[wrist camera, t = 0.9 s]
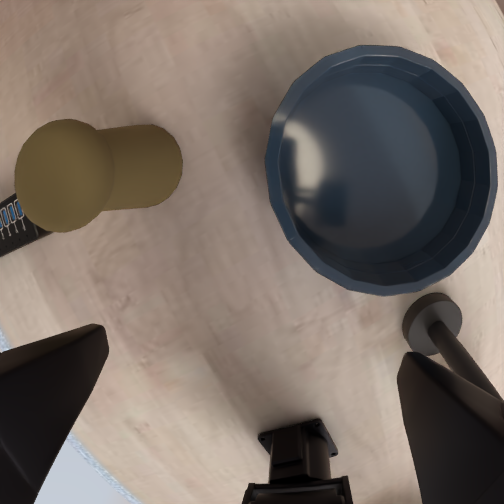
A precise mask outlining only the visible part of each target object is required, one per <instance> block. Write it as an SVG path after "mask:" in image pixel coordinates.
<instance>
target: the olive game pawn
mask: <svg viewBox="0 0 504 504" xmlns="http://www.w3.org/2000/svg"><path fill="white" fill-rule="evenodd" d="M182 164H183V160H182V156H181V151H180V148H179V146H178V144H177V142H176V141H175V139H174V137H173V136H172V135H170V134H169V133H168V132H167V131H166V130H165V129H163V128H160V127H158V126H155V125H133V126H125V127H117V128H109V129H102V130H96V129H95V128H94V127H92V126H91V125H89V124H87V123H84V122H81V121H78V120H73V119H63V120H55V121H52V122H49V123H47V124H45V125H44V126H42V127H40V128H38V129H37V130H36V131H35V132H34V133H33V134H32V135H31V136H30V137H29V138H28V140H27V141H26V142H25V143H24V144H23V146H22V149H21V151H20V153H19V155H18V158H17V162H16V167H15V190H16V195H17V200H18V202H19V204H20V206H21V209H22V211H23V212H24V214H25V215H26V216H27V217H28V218H29V220H30V221H31V222H33V223H34V224H36V225H38V226H39V227H41V228H43V229H44V230H46V231H51V232H59V233H61V232H69V231H73V230H76V229H79V228H81V227H83V226H86V225H87V224H88V223H89V222H91V221H92V220H93V219H94V218H95V217H97V216H98V215H99V214H100V213H101V212H102V211H110V210H121V209H133V208H146V207H150V206H154V205H158V204H160V203H161V202H163V201H164V200H166V199H167V198H169V196H170V195H171V194H172V193H173V191H174V190H175V189H176V188H177V185H178V183H179V180H180V178H181V175H182Z"/></svg>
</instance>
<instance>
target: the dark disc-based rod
mask: <svg viewBox="0 0 504 504" xmlns="http://www.w3.org/2000/svg"><path fill="white" fill-rule="evenodd" d="M461 325H462V314H461V311H460V309H459V307H458V306H457V305H456V304H455V303H454V302H453V301H452V300H451V299H450V298H449V297H448V296H447V295H445V294H442V293H431V294H428V295H425V296H423V297H421V298H420V299H418V300H417V301H416V302H415V303H414V304H413V305H412V306H411V307H410V308H409V310H408V311H407V313H406V315H405V318H404V321H403V335H404V337H405V339H406V341H407V343H408V344H409V346H410V348H411V349H412V350H413V351H414V352H420V353H422V354H423V355H425V356H430V355H434V354H437V353H441V355H442V356H443V358H444V359H445V361H446V362H447V364H448V365H449V367H450V368H451V370H452V371H453V372H454V373H455V374H457V375H459V376H460V377H462V378H464V379H465V380H467V381H469V382H470V383H472V384H474V385H475V386H477V387H479V388H481V389H482V390H484V391H486V392H487V393H489V394H491V395H492V396H494V397H496V398H497V399H499V400H500V402H501V401H503V402H504V400H503V399H502V398H501V396H500V395H499V393H498V392H497V391H496V389H495V388H494V386H493V385H492V384H491V382H490V381H489V379H488V378H487V377H486V375H485V374H484V373H483V371H482V370H481V369H480V367H479V366H478V365H477V363H476V362H475V361H474V360H473V358H472V357H471V356H470V354H469V353H468V352H467V351H466V349H465V348H464V347H463V346H462V344H461V343H460V342H459V341H458V339H457V338H456V337H457V335H458V334H459V331H460V329H461Z"/></svg>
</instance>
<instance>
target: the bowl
mask: <svg viewBox="0 0 504 504" xmlns="http://www.w3.org/2000/svg"><path fill="white" fill-rule="evenodd" d="M265 168H266V176H267V183H268V191H269V199H270V203H271V206H272V208H273V211H274V213H275V215H276V217H277V219H278V221H279V223H280V226H281V228H282V230H283V232H284V234H285V236H286V238H287V240H288V241H289V243H290V244H291V245H292V247H293V248H294V249H295V250H296V251H297V252H298V253H299V254H300V255H301V256H302V257H303V259H304V260H305V261H306V262H307V263H308V264H309V265H310V266H311V267H312V268H313V269H314V270H315V271H316V272H317V273H319V274H321V275H322V276H324V277H326V278H328V279H330V280H331V281H333V282H335V283H337V284H338V285H340V286H342V287H344V288H346V289H347V290H351V291H356V292H362V293H367V294H372V295H378V296H384V297H386V296H393V295H400V294H407V293H414V292H418V291H420V290H422V289H424V288H426V287H428V286H430V285H433V284H435V283H436V282H438V281H440V280H442V279H444V278H446V277H448V276H450V275H451V274H452V273H453V272H454V271H455V270H456V269H457V268H458V267H459V266H460V265H461V264H462V263H463V262H464V261H465V260H466V259H467V258H468V257H469V256H470V255H471V254H472V253H473V252H474V250H475V248H476V247H477V245H478V243H479V241H480V240H481V238H482V236H483V234H484V232H485V230H486V229H487V227H488V225H489V223H490V219H491V215H492V211H493V207H494V203H495V198H496V193H497V187H498V176H497V157H496V149H495V146H494V142H493V139H492V136H491V133H490V130H489V127H488V124H487V121H486V119H485V116H484V114H483V113H482V111H481V110H480V108H479V106H478V105H477V103H476V102H475V101H474V99H473V98H472V96H471V95H470V93H469V92H468V90H467V89H466V88H465V86H464V85H463V84H462V83H461V82H460V81H459V80H458V79H457V78H455V77H454V76H453V75H452V74H451V73H449V72H448V71H447V70H446V69H445V68H443V67H442V66H441V65H439V64H438V63H437V62H436V61H434V60H432V59H430V58H428V57H425V56H423V55H420V54H418V53H415V52H413V51H410V50H407V49H405V48H402V47H397V46H380V45H359V46H355V47H352V48H349V49H346V50H343V51H340V52H337V53H334V54H331V55H328V56H325V57H323V58H322V59H321V60H319V61H318V62H317V63H316V64H314V65H313V66H312V67H311V68H310V69H308V70H307V71H306V72H305V73H303V74H302V75H301V76H300V77H299V78H297V79H296V80H295V81H294V82H293V83H292V85H291V87H290V89H289V90H288V92H287V94H286V95H285V97H284V99H283V101H282V102H281V104H280V106H279V107H278V109H277V111H276V113H275V114H274V116H273V119H272V123H271V128H270V134H269V139H268V144H267V149H266V155H265Z"/></svg>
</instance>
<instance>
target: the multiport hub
mask: <svg viewBox="0 0 504 504" xmlns="http://www.w3.org/2000/svg"><path fill="white" fill-rule="evenodd" d="M51 233H53V232H51V231H46V230H44V229H43V228H41V227H39V226H38V225H36V224H34V223H33V222H31V221H30V220H29V218H28V217H27V216H26V215H25V214H24V212H23V211H22V209H21V206H20V204H19V202H18V200H17V195H16V193H15V194H13V195H12V196H10V197H9V198H7V199H6V200H4V201H3V202H1V203H0V257H2V256H4V255H6V254H8V253H10V252H12V251H14V250H16V249H19V248H21V247H23V246H25V245H27V244H29V243H31V242H34V241H36V240H38V239H40V238H42V237H45V236H47V235H49V234H51Z"/></svg>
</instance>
